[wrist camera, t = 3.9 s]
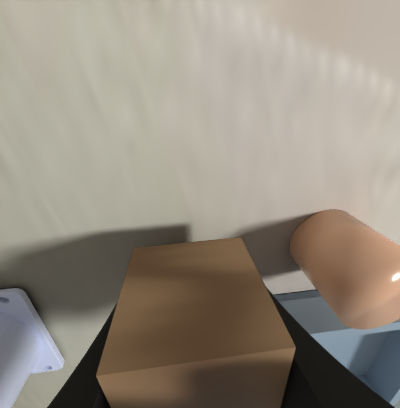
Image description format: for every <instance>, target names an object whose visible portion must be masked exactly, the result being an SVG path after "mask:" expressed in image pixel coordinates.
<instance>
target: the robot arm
mask: <svg viewBox="0 0 400 408" xmlns="http://www.w3.org/2000/svg"><path fill="white" fill-rule="evenodd" d="M266 288H267V287H266ZM267 290H268V289H267ZM268 292H269V294H270V296H271V298H272V300H273V302H274V304H275V306H276V308H277V310H278V312H279V314H280V316H281V318H282V320H283V322H284V324H285V326H286V328H287V330H288V332H289V334H290V336H291V338H292V340H293V342H294V344H295V346H296V349H295V353H294V357H293V361H292V365H291V368H290V372H289V376H288V380H287V384H286V388H285V392H284V396H283V400H282V404H281V407H280V408H395V407H394V406H392V405H391V404H390V403H389V402H387V401H386V400H385V399H383V398H382V397H381V396H380V395H378V394H377V393H376V392H374V391H373V390H372V389H371V388H370V387H368V386H367V385H366V384H365V383H364V382H362V381H361V380H360V379H359V378H357V377H356V376H355V375H354V374H353V373H352V372H350V371H349V370H348V369H347V368H346V367H345V366H343V365H342V364H341V363H340V362H339V361H338V360H337V359H336V358H334V357H333V356H332V355H331V354H330V353H329V352H328V351H327V350H326V349H325V348H324V347H323V346H322V345H320V344H319V343H318V342H317V341H316V340H315V339H314V338H313V337H312V336H311V335H310V334H309V333H308V332H307V331H306V330H305V329H304V328H303V327H302V326H301V325H300V324H299V323H298V322H297V321H296V320H295V319H294V318H293V316H292V315H291V314H290V313H289V312H288V311H287V310H286V309H285V308H284V307H283V306H282V305H281V303H280V302H279V301H278V300H277V299H276V298H275V297H274V296H273V294H272V293H271V292H270V291H269V290H268ZM116 306H117V304H116V305H115V307H114V309H113V311H112V312H111V314H110V316H109V317H108V319H107V321H106V322H105V324H104V326H103V327H102V329H101V331H100V332H99V334H98V335H97V337H96V339H95V340H94V342H93V343H92V345H91V346H90V348H89V349H88V351H87V353H86V354H85V356H84V357H83V359H82V360H81V361H80V363H79V364H78V366H77V367H76V369H75V370H74V371H73V373H72V374H71V376H70V377H69V379H68V380H67V382H66V383H65V384H64V386H63V387H62V389H61V390H60V391H59V393H58V394H57V395H56V397H55V398H54V399H53V401H52V402H51V403H50V405H49V406H48V407H47V408H111V407H110V405H109V403H108V401H107V398H106V396H105V394H104V392H103V390H102V388H101V386H100V384H99V382H98V379H97V377H96V374H97V371H98V367H99V364H100V360H101V357H102V354H103V350H104V347H105V343H106V340H107V336H108V333H109V330H110V326H111V323H112V319H113V316H114V313H115V309H116ZM64 362H65V361H64V359H63V357H62V356H61V354H60V352H59V350H58V348H57V347H56V345H55V343H54V341H53V340H52V338H51V336H50V334H49V333H48V331H47V329H46V327H45V326H44V324H43V322H42V320H41V319H40V317H39V315H38V313H37V312H36V310H35V308H34V306H33V305H32V303H31V301H30V299H29V298H28V296H27V294H26V293H25V291H23V290H22V289H19V288H12V289H2V290H0V408H12V406H13V404H14V402H15V400H16V399H17V397H18V395H19V393H20V391H21V389H22V387H23V386H24V384H25V382H26V380H27V378H28V376H29V375H30V374H33V373H40V372H48V371H55V370H59V369H61V368H62V367H63V365H64Z"/></svg>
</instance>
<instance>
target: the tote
mask: <svg viewBox="0 0 400 408" xmlns="http://www.w3.org/2000/svg"><path fill="white" fill-rule="evenodd" d="M273 296H274V297H275V298H276V299H277V300H278V301H279V302H280V303H281V305H282V306H283V307H284V308H285V309H286V310H287V311H288V312H289V313H290V314H291V315H292V316H293V318H294V319H295V320H296V321H297V322H298V323H299V324H300V325H301V326H302V327H303V328H304V329H305V330H306V331H307V332H308V333H309V334H310V335H311V336H312V337H313V338H314V339H315V340H316V341H317V342H318V343H319V344H320V345H322V346H323V347H324V348H325V349H326V350H327V351H328V352H329V353H330V354H331V355H332V356H333V357H334V358H336V359H337V360H338V361H339V362H340V363H341V364H342V365H343V366H345V367H346V368H347V369H348V370H349V371H350V372H352V373H353V374H354V375H355V376H356V377H357V378H359V379H360V380H361V381H362V382H364V383H365V384H366V385H367V386H368V387H370V388H371V389H372V390H373V391H374V392H376V393H377V394H378V395H380V396H381V397H382V398H383V399H385V400H386V401H387V402H389V403H390V404H391V405H392V406H395V405H396V404H397V402H398V401H399V400H400V319H398V320H396V321H394V322H392V323H390V324H387V325H384V326H381V327H377V328H372V329H353V328H350V327H347V326H346V325H344V324H343V323H342V322H341V321H340V320H339V318H338V317H337V316H336V314H335V313H334V312H333V310H332V309H331V308H330V307H329V305H328V304H327V303H326V301H325V300H324V299H323V297H322V296H321V295H320V293H319V292H318V291H317V290H311V291H303V292H295V293H286V294H278V295H273Z"/></svg>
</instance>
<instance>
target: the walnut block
mask: <svg viewBox="0 0 400 408" xmlns="http://www.w3.org/2000/svg"><path fill="white" fill-rule="evenodd" d="M295 349H296V346H295V344H294V342H293V340H292V338H291V336H290V334H289V332H288V330H287V328H286V326H285V324H284V322H283V320H282V318H281V316H280V314H279V312H278V310H277V308H276V306H275V304H274V302H273V300H272V298H271V296H270V294H269V292H268V290H267V288H266V286H265V284H264V282H263V280H262V278H261V276H260V274H259V272H258V270H257V268H256V266H255V264H254V262H253V260H252V258H251V256H250V254H249V252H248V250H247V248H246V246H245V244H244V242H243V240H242V238H241V237H238V238H228V239H218V240H208V241H197V242H187V243H177V244H167V245H157V246H147V247H137V248H133V251H132V255H131V258H130V261H129V265H128V268H127V272H126V275H125V279H124V282H123V285H122V289H121V292H120V296H119V299H118V302H117V306H116V309H115V313H114V316H113V319H112V323H111V326H110V330H109V333H108V336H107V340H106V343H105V347H104V350H103V354H102V357H101V360H100V364H99V367H98V371H97V374H96V377H97V379H98V382H99V384H100V386H101V388H102V390H103V392H104V394H105V396H106V398H107V401H108V403H109V405H110V407H111V408H280V407H281V404H282V400H283V396H284V392H285V388H286V384H287V380H288V376H289V372H290V368H291V365H292V361H293V357H294V353H295Z"/></svg>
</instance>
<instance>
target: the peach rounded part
mask: <svg viewBox="0 0 400 408" xmlns="http://www.w3.org/2000/svg"><path fill="white" fill-rule="evenodd" d="M289 250H290V254H291V256H292V258H293V259H294V260H295V262H296V263H297V264H298V266H299V267H300V268H301V270H302V271H303V272H304V274H305V275H306V276H307V278H308V279H309V280H310V281H311V283H312V284H313V285H314V287H315V288H316V289H317V291H318V292H319V293H320V295H321V296H322V297H323V299H324V300H325V301H326V303H327V304H328V305H329V307H330V308H331V309H332V310H333V312H334V313H335V314H336V316H337V317H338V318H339V320H340V321H341V322H342V323H343V324H344V325H346V326H347V327H350V328H353V329H372V328H377V327H381V326H384V325H387V324H390V323H392V322H394V321H396V320H398V319H400V246H399V245H397V244H396V243H394V242H393V241H391V240H390V239H388V238H386V237H385V236H383V235H382V234H380V233H378V232H377V231H375V230H374V229H372V228H371V227H369V226H367V225H366V224H364V223H363V222H361V221H359V220H358V219H356V218H355V217H353V216H352V215H350V214H348V213H347V212H345V211H342V210H336V209H330V210H324V211H321V212H318V213H316V214H314V215H312V216H310V217H308V218H307V219H306V220H304V221H303V222H302V223H301V224H300V225H299V226H298V227H297V229H296V230H295V231H294V233H293V235H292V237H291V240H290V245H289Z"/></svg>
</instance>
